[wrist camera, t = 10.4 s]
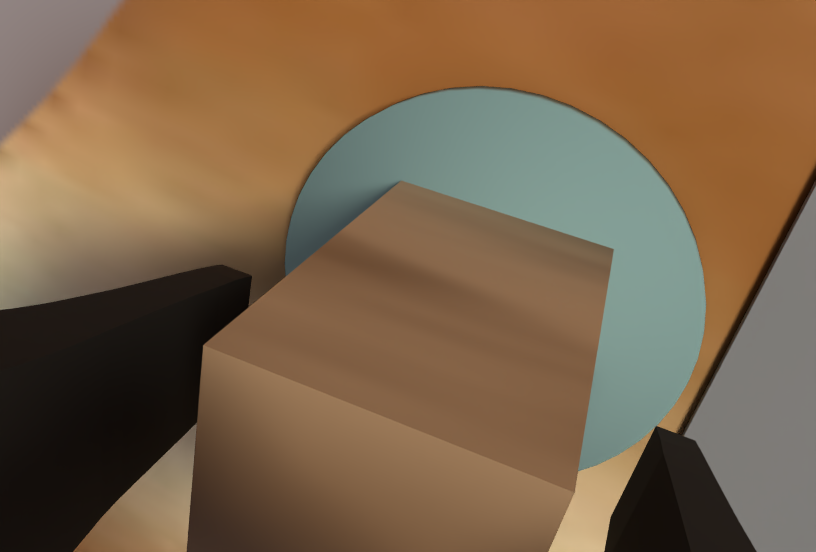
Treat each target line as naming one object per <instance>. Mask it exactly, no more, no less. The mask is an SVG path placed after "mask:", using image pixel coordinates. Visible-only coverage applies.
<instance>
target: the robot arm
mask: <svg viewBox="0 0 816 552" xmlns="http://www.w3.org/2000/svg"><path fill="white" fill-rule="evenodd" d="M251 279H252V276H251V275H249V274H246V273H243V272H240V271H238V270H235V269H232V268H230V267H227V266H224V265H216V266H210V267H205V268H200V269H196V270H191V271H187V272H183V273H179V274H175V275H171V276H167V277H163V278H159V279H154V280H150V281H146V282H142V283H138V284H134V285H130V286H126V287H122V288H118V289H113V290H109V291H104V292H99V293H95V294H90V295H85V296H80V297H75V298H70V299H66V300H61V301H56V302H51V303H45V304H40V305H34V306H27V307H21V308H14V309H6V310H0V552H73V551H74V550H75V548H76V547H77V546H78V545H79V544H80V542H81V541H82V540H83V539H84V538H85V536H86V535H87V534H88V533H89V532H90V530H91V529H92V528H93V527H94V526H95V524H96V523H97V522H98V521H99V520H100V518H101V517H102V516H103V515H104V514H105V513H106V512H107V511H108V510H109V509H110V508H111V507H112V506H113V504H114V503H115V502H116V501H117V500H118V499H119V498H120V497H121V496H122V495H123V494H124V493H125V492H126V491H127V490H128V489H129V488H130V487H131V486H132V485H133V484H134V483H135V482H136V481H137V480H138V479H139V478H140V477H142V476H143V475H144V474H145V473H146V472H147V471H148V470H149V469H150V468H151V467H152V466H153V465H154V464H155V463H156V462H157V461H158V460H159V459H160V458H161V457H162V456H163V455H164V454H165V453H166V452H167V451H168V450H169V449H170V448H171V447H172V446H173V445H174V444H175V443H176V442H177V441H179V440H180V439H181V438H182V437H183V436H184V435H185V434H186V433H187V432H188V431H189V430H190V429H191V428H192V427H193V426H194V425H195V424H196V423H197V418H198V405H199V393H200V380H201V368H202V355H203V345H204V344H205V343H206V342H208V341H209V340H210V339H211V338H212V337H214V336H215V335H216V334H217V333H218V332H220V331H221V330H222V329H223V328H224V327H226V326H227V325H228V324H229V323H231V322H232V321H233V320H234V319H235V318H237V317H238V316H239V315H240V314H241V313H243V312H244V311H245V310H246V309H247V308H248V304H249V296H250V287H251ZM605 552H757V551H756V550H755V548H754V546H753V545H752V543H751V541H750V539H749V538H748V536H747V534H746V533H745V531H744V529H743V527H742V526H741V524H740V522H739V520H738V518H737V517H736V515H735V513H734V511H733V509H732V508H731V506H730V504H729V502H728V500H727V498H726V497H725V495H724V493H723V491H722V489H721V487H720V485H719V484H718V482H717V480H716V478H715V476H714V474H713V472H712V470H711V468H710V467H709V465H708V463H707V461H706V459H705V457H704V455H703V453H702V452H701V450H700V448H699V446H698V444H697V443H696V441H695V440H693V439H690V438H687V437H685V436H682V435H679V434H676V433H674V432H671V431H668V430H666V429H663V428H660V427H658V426H656V427H655V429H654V431H653V433H652V435H651V437H650V439H649V441H648V443H647V445H646V447H645V449H644V451H643V453H642V455H641V457H640V459H639V461H638V463H637V465H636V467H635V469H634V471H633V473H632V476H631V478H630V480H629V482H628V484H627V486H626V488H625V490H624V492H623V494H622V496H621V498H620V500H619V502H618V504H617V506H616V508H615V510H614V512H613V514H612V516H611V519H610V524H609V530H608V535H607V540H606V546H605Z"/></svg>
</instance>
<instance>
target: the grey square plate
mask: <svg viewBox="0 0 816 552" xmlns="http://www.w3.org/2000/svg"><path fill="white" fill-rule="evenodd" d="M682 436H685V437H687V438H690V439H693V440H695V441H696V443H697V444H698V446H699V448H700V450H701V452H702V453H703V455H704V457H705V459H706V461H707V463H708V465H709V467H710V468H711V470H712V472H713V474H714V476H715V478H716V480H717V482H718V484H719V485H720V487H721V489H722V491H723V493H724V495H725V497H726V498H727V500H728V502H729V504H730V506H731V508H732V509H733V511H734V513H735V515H736V517H737V518H738V520H739V522H740V524H741V526H742V527H743V529H744V531H745V533H746V534H747V536H748V538H749V539H750V541H751V543H752V545H753V546H754V548H755V550H756V551H757V552H816V181H815V182H814V184H813V186H812V188H811V190H810V192H809V194H808V196H807V198H806V200H805V202H804V203H803V205H802V207H801V209H800V211H799V213H798V215H797V217H796V219H795V221H794V222H793V224H792V226H791V228H790V230H789V232H788V234H787V236H786V238H785V240H784V242H783V243H782V245H781V247H780V249H779V251H778V253H777V255H776V257H775V259H774V261H773V262H772V264H771V266H770V268H769V270H768V272H767V274H766V276H765V278H764V280H763V282H762V283H761V285H760V287H759V289H758V291H757V293H756V295H755V297H754V299H753V301H752V302H751V304H750V306H749V308H748V310H747V312H746V314H745V316H744V318H743V320H742V322H741V323H740V325H739V327H738V329H737V331H736V333H735V335H734V337H733V339H732V341H731V342H730V344H729V346H728V348H727V350H726V352H725V354H724V356H723V358H722V360H721V362H720V363H719V365H718V367H717V369H716V371H715V373H714V375H713V377H712V379H711V381H710V382H709V384H708V386H707V388H706V390H705V392H704V394H703V396H702V398H701V400H700V402H699V403H698V405H697V407H696V409H695V411H694V413H693V415H692V417H691V419H690V421H689V422H688V424H687V426H686V428H685V430H684V432H683V434H682Z"/></svg>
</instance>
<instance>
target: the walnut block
mask: <svg viewBox="0 0 816 552" xmlns="http://www.w3.org/2000/svg"><path fill="white" fill-rule="evenodd" d="M613 252H614V249H612V248H609V247H606V246H603V245H600V244H597V243H594V242H590V241H587V240H584V239H581V238H578V237H575V236H572V235H569V234H566V233H563V232H559V231H556V230H553V229H550V228H547V227H544V226H541V225H538V224H535V223H531V222H528V221H525V220H522V219H519V218H516V217H513V216H510V215H507V214H504V213H500V212H497V211H494V210H491V209H488V208H485V207H482V206H479V205H476V204H473V203H469V202H466V201H463V200H460V199H457V198H454V197H451V196H448V195H445V194H442V193H438V192H435V191H432V190H429V189H426V188H423V187H420V186H417V185H414V184H411V183H407V182H404V181H400V182H399V183H398V184H397V185H395V186H394V187H393V188H392V189H391V190H389V191H388V192H387V193H386V194H385V195H383V196H382V197H381V198H380V199H379V200H377V201H376V202H375V203H374V204H373V205H371V206H370V207H369V208H368V209H367V210H365V211H364V212H363V213H362V214H360V215H359V216H358V217H357V218H356V219H354V220H353V221H352V222H351V223H350V224H348V225H347V226H346V227H345V228H344V229H342V230H341V231H340V232H339V233H338V234H336V235H335V236H334V237H333V238H332V239H330V240H329V241H328V242H327V243H326V244H324V245H323V246H322V247H321V248H320V249H318V250H317V251H316V252H315V253H314V254H312V255H311V256H310V257H309V258H308V259H306V260H305V261H304V262H303V263H302V264H300V265H299V266H298V267H297V268H295V269H294V270H293V271H292V272H291V273H289V274H288V275H287V276H286V277H285V278H283V279H282V280H281V281H280V282H279V283H277V284H276V285H275V286H274V287H273V288H271V289H270V290H269V291H268V292H267V293H265V294H264V295H263V296H262V297H261V298H259V299H258V300H257V301H256V302H255V303H253V304H252V305H251V306H250V307H249V308H247V309H246V310H245V311H244V312H243V313H241V314H240V315H239V316H238V317H237V318H235V319H234V320H233V321H232V322H231V323H229V324H228V325H227V326H226V327H224V328H223V329H222V330H221V331H220V332H218V333H217V334H216V335H215V336H214V337H212V338H211V339H210V340H209V341H208V342H206V343H205V344H204V345H203V355H202V368H201V380H200V393H199V405H198V418H197V430H196V442H195V455H194V467H193V480H192V492H191V505H190V517H189V530H188V542H187V552H548V551H549V549H550V546H551V544H552V542H553V540H554V537H555V535H556V533H557V531H558V528H559V526H560V524H561V522H562V519H563V517H564V515H565V513H566V510H567V508H568V506H569V504H570V501H571V499H572V497H573V495H574V493H575V486H576V480H577V474H578V468H579V462H580V456H581V449H582V443H583V437H584V431H585V425H586V419H587V412H588V406H589V400H590V394H591V388H592V382H593V375H594V369H595V363H596V357H597V351H598V345H599V338H600V332H601V326H602V320H603V314H604V308H605V301H606V295H607V289H608V283H609V277H610V271H611V265H612V258H613Z"/></svg>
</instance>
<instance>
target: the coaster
mask: <svg viewBox="0 0 816 552" xmlns="http://www.w3.org/2000/svg"><path fill="white" fill-rule="evenodd" d="M400 181H404V182H407V183H411V184H414V185H417V186H420V187H423V188H426V189H429V190H432V191H435V192H438V193H442V194H445V195H448V196H451V197H454V198H457V199H460V200H463V201H466V202H469V203H473V204H476V205H479V206H482V207H485V208H488V209H491V210H494V211H497V212H500V213H504V214H507V215H510V216H513V217H516V218H519V219H522V220H525V221H528V222H531V223H535V224H538V225H541V226H544V227H547V228H550V229H553V230H556V231H559V232H563V233H566V234H569V235H572V236H575V237H578V238H581V239H584V240H587V241H590V242H594V243H597V244H600V245H603V246H606V247H609V248H612V249H614V252H613V258H612V265H611V271H610V277H609V283H608V289H607V295H606V301H605V308H604V314H603V320H602V326H601V332H600V338H599V345H598V351H597V357H596V363H595V369H594V375H593V382H592V388H591V394H590V400H589V406H588V412H587V419H586V425H585V431H584V437H583V443H582V449H581V456H580V462H579V468H578V471H581V470H584V469H587V468H590V467H593V466H596V465H598V464H600V463H602V462H604V461H606V460H608V459H610V458H612V457H614V456H617V455H619V454H620V453H622V452H623V451H625V450H626V449H628V448H629V447H631V446H632V445H634V444H635V443H637V442H638V441H640V440H641V439H642V438H643V437H644V436H645V435H647V434H648V433H649V432H650V431H651V430H652V429H653V428H654V427H656V426H657V425H658V424H659V423H660V421H661V420H662V419H663V418H664V417H665V415H666V414H667V413H668V412H669V411H670V410H671V408H672V407H673V406H674V405H675V403H676V401H677V400H678V398H679V397H680V395H681V393H682V392H683V390H684V388H685V387H686V385H687V383H688V381H689V379H690V376H691V374H692V371H693V369H694V367H695V364H696V362H697V359H698V356H699V351H700V347H701V343H702V339H703V334H704V325H705V311H706V299H705V288H704V276H703V269H702V264H701V260H700V255H699V251H698V247H697V243H696V239H695V236H694V234H693V231H692V229H691V226H690V224H689V222H688V219H687V217H686V214H685V212H684V210H683V208H682V206H681V205H680V203H679V201H678V200H677V198H676V196H675V195H674V193H673V191H672V190H671V188H670V186H669V185H668V183H667V182H666V181H665V180H664V178H663V177H662V176H661V175H660V173H659V172H658V171H657V170H656V168H655V167H654V166H653V165H652V164H651V162H650V161H649V160H648V159H647V158H646V157H645V156H644V155H643V154H642V153H641V152H639V151H638V150H637V149H636V148H635V147H634V146H633V145H632V144H631V143H630V142H629V141H628V140H627V139H626V138H624V137H623V136H621V135H620V134H618V133H617V132H616V131H614V130H613V129H611V128H610V127H609V126H607V125H606V124H604V123H603V122H601V121H600V120H598V119H596V118H594V117H592V116H591V115H589V114H587V113H585V112H583V111H581V110H579V109H577V108H575V107H573V106H571V105H568V104H566V103H563V102H560V101H557V100H555V99H552V98H549V97H546V96H544V95H540V94H535V93H531V92H526V91H521V90H517V89H512V88H500V87H487V86H474V87H457V88H449V89H444V90H439V91H434V92H429V93H424V94H421V95H418V96H415V97H413V98H410V99H407V100H404V101H401V102H398V103H396V104H394V105H393V106H391V107H389V108H387V109H385V110H383V111H381V112H379V113H377V114H375V115H374V116H372V117H370V118H368V119H366V120H364V121H363V122H362V123H360V124H359V125H358V126H356V127H355V128H353V129H352V130H351V131H349V132H348V133H347V134H345V135H344V136H343V137H342V138H341V139H340V140H339V141H338V142H337V143H336V144H335V145H334V146H333V147H332V148H331V149H330V150H329V151H328V152H327V153H326V154H325V155H324V157H323V158H322V159H321V161H320V162H319V163H318V165H317V166H316V167H315V169H314V170H313V171H312V173H311V174H310V176H309V178H308V180H307V182H306V184H305V185H304V187H303V189H302V191H301V193H300V195H299V197H298V200H297V203H296V206H295V208H294V211H293V214H292V217H291V221H290V226H289V231H288V235H287V240H286V254H285V275H286V276H287V275H288V274H289V273H291V272H292V271H293V270H294V269H295V268H297V267H298V266H299V265H300V264H302V263H303V262H304V261H305V260H306V259H308V258H309V257H310V256H311V255H312V254H314V253H315V252H316V251H317V250H318V249H320V248H321V247H322V246H323V245H324V244H326V243H327V242H328V241H329V240H330V239H332V238H333V237H334V236H335V235H336V234H338V233H339V232H340V231H341V230H342V229H344V228H345V227H346V226H347V225H348V224H350V223H351V222H352V221H353V220H354V219H356V218H357V217H358V216H359V215H360V214H362V213H363V212H364V211H365V210H367V209H368V208H369V207H370V206H371V205H373V204H374V203H375V202H376V201H377V200H379V199H380V198H381V197H382V196H383V195H385V194H386V193H387V192H388V191H389V190H391V189H392V188H393V187H394V186H395V185H397V184H398V183H399V182H400Z"/></svg>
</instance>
